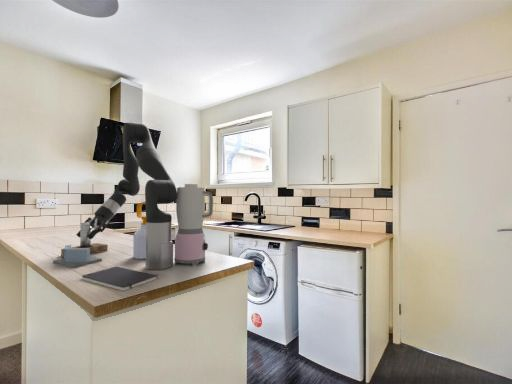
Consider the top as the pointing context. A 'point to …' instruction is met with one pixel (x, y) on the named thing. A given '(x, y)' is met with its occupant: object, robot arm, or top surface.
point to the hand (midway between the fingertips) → (83, 237)
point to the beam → (93, 248)
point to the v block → (76, 257)
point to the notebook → (119, 278)
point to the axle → (85, 235)
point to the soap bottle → (140, 236)
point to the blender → (191, 224)
